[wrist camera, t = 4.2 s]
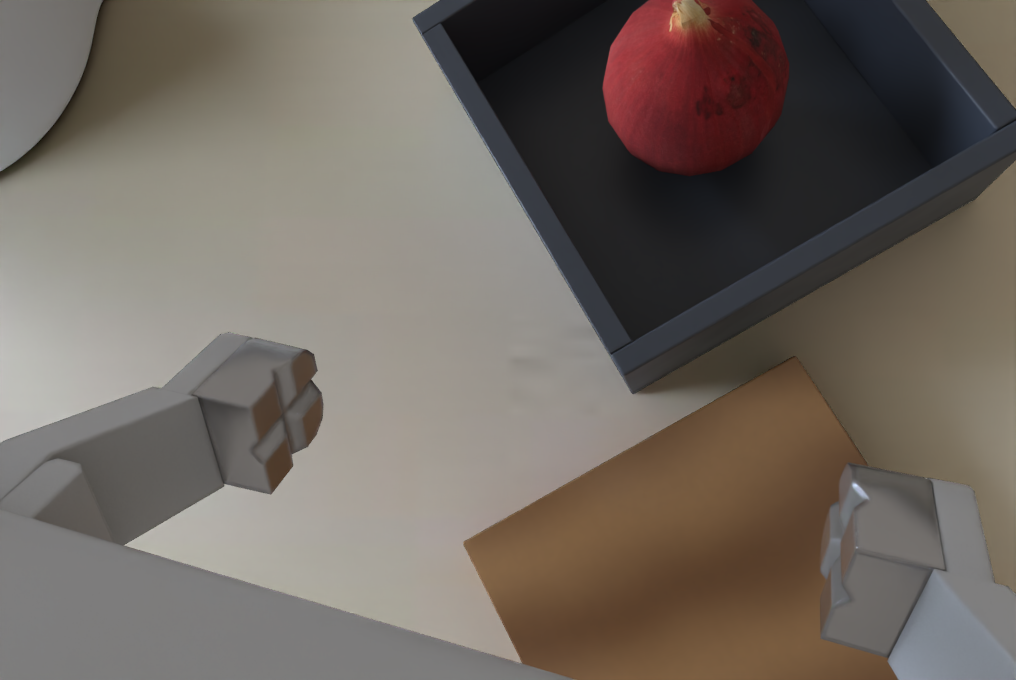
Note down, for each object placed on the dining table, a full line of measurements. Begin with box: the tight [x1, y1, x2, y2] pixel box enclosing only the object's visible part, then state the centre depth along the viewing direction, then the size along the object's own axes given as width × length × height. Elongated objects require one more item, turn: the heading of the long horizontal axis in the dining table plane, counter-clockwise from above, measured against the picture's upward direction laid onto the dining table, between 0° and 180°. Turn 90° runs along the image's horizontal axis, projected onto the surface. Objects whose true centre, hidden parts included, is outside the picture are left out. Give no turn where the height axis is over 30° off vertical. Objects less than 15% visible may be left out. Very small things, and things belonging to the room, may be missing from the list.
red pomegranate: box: [602, 0, 789, 176], centre depth 25 cm, size 6×6×8 cm
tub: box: [413, 0, 1016, 394], centre depth 27 cm, size 15×14×5 cm
